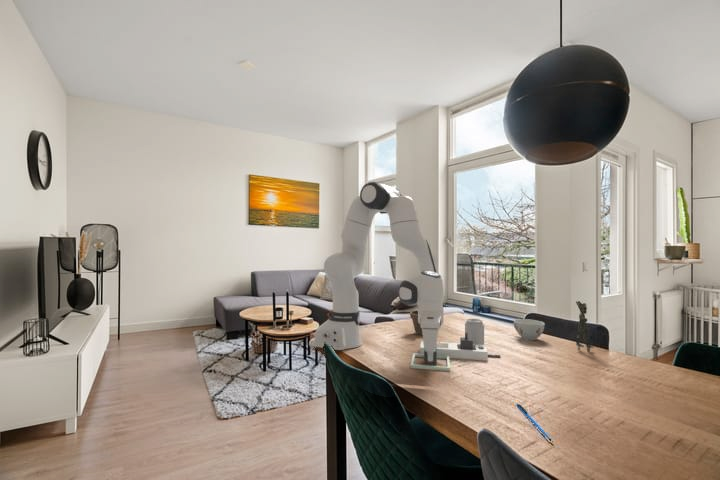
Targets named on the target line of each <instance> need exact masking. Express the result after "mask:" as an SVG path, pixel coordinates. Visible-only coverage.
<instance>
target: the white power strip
mask: <svg viewBox="0 0 720 480" xmlns="http://www.w3.org/2000/svg"><path fill="white" fill-rule="evenodd" d="M419 354H424V343H423V340H421V341H420V347H419ZM437 355H446V356H449V359H462V360H476V361H488V359H489V358H494V359H501V354H489V353H488V350H487V347H486V345H485V344H484V345H476V344H473V350H464V349H460V342H459V343H457V342H445V341H444V342H441V341H438V340H437Z"/></svg>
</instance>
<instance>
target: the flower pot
mask: <svg viewBox="0 0 720 480" xmlns="http://www.w3.org/2000/svg"><path fill="white" fill-rule="evenodd" d="M409 317H410V319H411V320H412V324H413V328H414V331H415V334H417V335H420V336H423V333H422V328H421V327H420V324H419V323H418V309H417V310H413V311H410V312H409Z"/></svg>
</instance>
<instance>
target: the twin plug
mask: <svg viewBox="0 0 720 480" xmlns="http://www.w3.org/2000/svg"><path fill="white" fill-rule="evenodd" d="M459 340H460V341H459V343H460V349H464V350H473V340H472V338H468V333H467V332H465V331H464V337H459Z"/></svg>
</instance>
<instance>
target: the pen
mask: <svg viewBox="0 0 720 480" xmlns="http://www.w3.org/2000/svg"><path fill="white" fill-rule="evenodd" d="M516 406H517V409H518V410H519V411H520V410H521V411H522V412H523V413H524V414H525V415H526V416H527V417H528V418H529V419H530V420H531V422H532V423H534V425H535V426H536V427H538V429H539V430H540V431H541V432H542V433H543V434H544V435H545V436H546V437H547V438H548V439H549V440H550V441H551V440H552V438H551V437H550V436H549V435H548V434H547V433H546V432H545V430H543V428H541V426H540V425H539V424H538V422H536V421H535V420H534V419H533V418H532V416H531V415H530V414H529V413H528V411H527V410H526V409H525V408H524V407H523V406H522V405H521V404H518V403H516ZM521 411H520V412H521ZM522 412H521V413H522ZM523 413H522V414H523ZM524 414H523V415H524ZM525 415H524V416H525ZM526 416H525V417H526ZM527 417H526V418H527ZM528 418H527V419H528ZM531 422H530V423H531ZM532 423H531V424H532ZM534 425H533V426H534ZM535 426H534V427H535ZM536 427H535V428H536Z"/></svg>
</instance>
